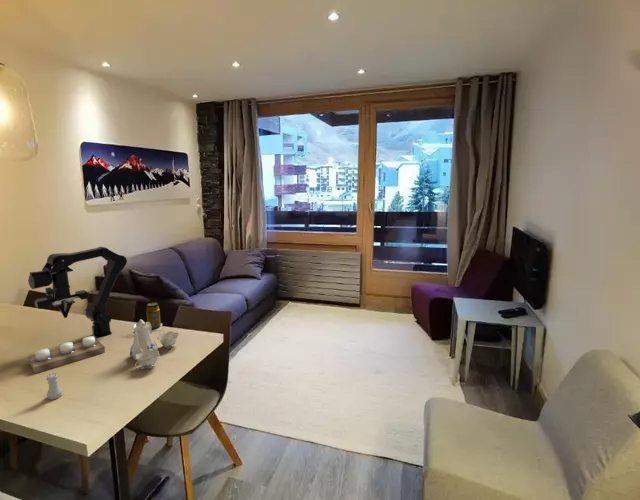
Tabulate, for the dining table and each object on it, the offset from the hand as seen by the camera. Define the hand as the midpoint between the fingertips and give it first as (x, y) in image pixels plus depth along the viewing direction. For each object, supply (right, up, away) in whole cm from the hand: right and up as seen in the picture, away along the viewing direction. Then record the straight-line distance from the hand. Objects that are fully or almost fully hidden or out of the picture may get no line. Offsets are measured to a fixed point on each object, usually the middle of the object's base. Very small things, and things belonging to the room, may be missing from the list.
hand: (65, 317), depth 158 cm
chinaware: (+40, -15, -6) cm, 44 cm away
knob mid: (+7, -12, -8) cm, 16 cm away
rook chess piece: (+21, -21, -35) cm, 45 cm away
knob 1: (+1, -14, -14) cm, 20 cm away
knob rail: (+7, -15, -8) cm, 18 cm away
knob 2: (+12, -11, -3) cm, 17 cm away
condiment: (+29, -9, +22) cm, 37 cm away
